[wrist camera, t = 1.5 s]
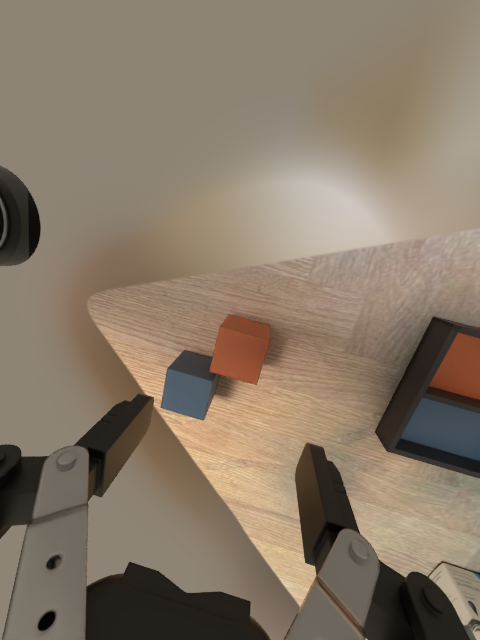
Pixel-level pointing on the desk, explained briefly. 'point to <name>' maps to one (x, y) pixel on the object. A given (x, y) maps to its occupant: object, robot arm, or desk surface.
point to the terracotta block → (240, 349)
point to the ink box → (461, 595)
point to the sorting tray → (438, 401)
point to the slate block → (189, 385)
